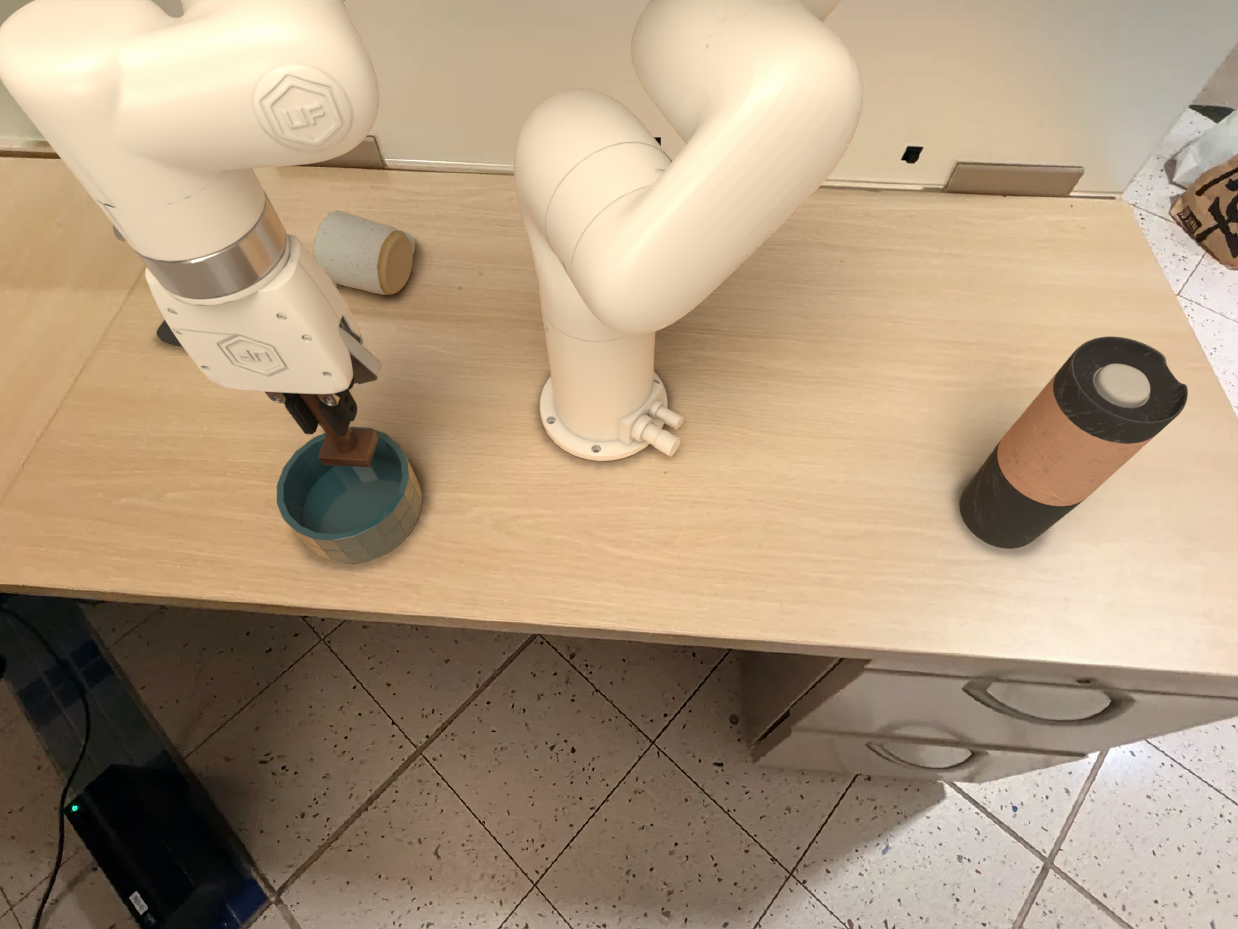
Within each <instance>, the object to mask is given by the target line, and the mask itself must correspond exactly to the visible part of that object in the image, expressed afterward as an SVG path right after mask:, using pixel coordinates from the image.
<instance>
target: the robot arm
mask: <svg viewBox="0 0 1238 929" xmlns="http://www.w3.org/2000/svg"><path fill="white" fill-rule="evenodd" d="M345 1H346V0H180V3H181V8H182V12H183V15H182V16H180V17H173V16H171V15H169V14H168V13H166V12H165V10H163V9H162V8H161V7H160V6H159V5H158V4H157V3H156V2H154V1H153V0H31V1H30V2H28V3H27V4H25V5H23V6H21V7H20V8H18V9H17V10H15V12H13V13H12V14H11V15H10V16H8V17H7V19H5V21H3V23H2V24H1V26H0V80H1V83H2V84H3V86H4V87H5V88H6V90H7V92H8V93H9V94H10V96H11V97H12V98H13V99H14V101H15V102H16V103H17V105H18V106H19V107H20V109H21V110H22V111H23V113H24V114H25V115H26V117H28V119H29V120H30V121H31V122H32V124H33V125H34V126H35V128H36V129H37V130H38V132H39V133H40V134H41V135H42V137H43V138H44V139H45V140H46V142H47V143H48V144H49V145H50V147H51V148H52V149H53V150H54V152H55V153H56V154H57V155H58V157H59V158H60V159H61V161H62V162H63V164H64V165H65V166H66V168H68V169H69V171H70V172H71V173H72V174H73V176H74V178H76V179H77V181H78V182H79V183H80V185H81V186H82V187H83V189H84V190H85V191H86V192H87V194H88V195H89V196H90V197H91V198H92V200H93V201H94V202H95V203H96V204H97V206H98V207H99V208H100V210H101V211H102V212H103V213H104V215H105V216H106V218H108V219H109V221H110V222H111V224H112V229H113V234H114V235H115V237H116V238H117V239H118V240H119V241H120V242H127V244H128V245H129V246H130V248H131V249H132V251H133V252H134V253H135V254H136V256H137V257H138V258H139V259H140V261H141V262H142V263H143V265H144V266H145V267H146V268H145V271H144V277H145V280H146V282H147V283H146V284H147V285H148V288H149V290H150V293H151V295H152V298H153V300H154V302H155V304H156V306H157V309H158V310H159V312H160V313H161V316H162V317H163V319H164V320H165V321H166V322H167V324H168V326H169V327H170V329H171V330H172V332H173V333H174V335H175V336H176V338H177V339H178V341H179V342H180V344H181V345H182V346H181V347H182V348H183V350H184V351H185V352H186V354H187V355H188V357H189V358H190V359H191V360H192V362H193V363H194V364H195V365H196V367H197V368H198V369H199V370H200V371H201V373H202V374H203V375H204V376H205V377H206V378H207V379H208V380H209V381H210V382H211V383H213V384H214V385H216V386H219V387H222V388H224V389H230V390H237V391H249V392H251V391H252V392H264V393H265V395H266V396H267V398H268V399H270V400H271V401H272V402H273V403H276V404H283V405H284V407H285V409H286V410H287V412H288V413H289V414H290V415H291V417H292V418H293V420H294V421H295V422H296V424H297V425H298V427H299V428H300V429H301V430H302V432H303V434H304V435H314V434H315V433H317V430H318V427H319V425H320V424H319V423H318V422H317V420H316V419H315V417H314V416H313V414H312V413H311V411H310V410H309V408H308V407H307V406H306V404H305V403H304V401H303V400H302V398H301V397H300V395H299V394H298V393H304V394H317V395H318V397H319V398H320V403H319V410H320V412H321V413H322V415H323V416H324V418H325V419H326V421H327V422H328V424H329V425H330V427H331V428H332V430H333V431H334V433H335V434H337V435H338V436H346V434H347V431H348V428H349V427H350V425H351V422H354V421H355V420H356V418H357V413H358V404H357V401H356V400H355V398H354V397H353V395H352V392H350V390H352V389H353V387H354V385H355V384H358V385H363V384H366V383H371V382H375V381H377V380H378V379H379V376H380V373H381V370H382V366H383V364H382V362H381V361H380V360H379V359H378V358H377V357H376V356H375V355H374V354H373V353H372V352H370V351H369V350H368V349H367V348H366V346H364V337H363V335H362V332H361V330H360V327H359V325H358V323H357V321H356V319H355V316H354V315H353V313H352V312H351V310H350V308H349V305H348V304H347V303H346V301H345V299H344V298H343V296H342V294H341V292H340V291H339V290H338V288H337V287H336V285H335V283H333V282H332V281H331V279H330V278H329V276H328V275H327V273H326V272H325V271H324V269H323V268H322V267H321V265H320V264H319V263H318V261H317V260H316V259H315V258H314V256H313V253H311V251H310V250H309V249H308V247H307V246H306V245H305V244H304V243H303V242H302V241H301V240H300V239H299V237H297V236H295V235H292V234H288V233H287V230H286V229H285V227H284V225H283V223H282V221H281V219H280V217H279V215H278V213H277V212H276V210H275V208H274V206H273V204H272V202H271V200H270V199H269V197H268V195H267V193H266V191H265V189H264V188H263V186H262V183H261V182H260V180H259V178H258V176H257V175H256V173H255V171H254V169H260V168H261V169H262V168H280V167H295V166H304V165H310V164H316V163H322V162H326V161H330V160H332V159H336V158H338V157H342V155H345V154H347V153H348V152H350V151H352V150H354V149H355V148H356V147H358V146H359V145H360V144H361V143H362V142H363V141H364V140H365V139H366V137H367V136H368V135H369V134H370V132H371V131H372V129H373V127H374V125H375V122H376V120H377V117H378V113H379V108H380V88H379V87H380V86H379V81H378V77H377V76H378V75H377V72H376V70H375V67H374V64H373V61H372V58H371V56H370V54H369V52H368V50H367V47H366V46H365V44H364V42H363V39H362V38H361V36H360V34H359V31H358V30H357V28H356V25H355V24H354V22H353V19H352V18H351V15H350V13H349V11H348V8H347V7H346V5H345ZM841 1H842V0H649V1H648V2H647V3H646V5H645V7H644V8H643V10H642V11H641V12H640V14H639V16H638V18H637V21H636V23H635V26H634V29H633V32H632V36H631V41H630V54H631V55H630V56H631V63H632V66H633V69H634V72H635V74H636V77H637V79H638V81H639V83H640V84H641V87H642V88H643V90H644V92H645V93H646V94H647V96H648V98H649V99H650V100H651V102H652V103H653V105H655V107H656V108H657V110H658V111H659V112H660V113H661V114H662V116H663V117H664V118H665V120H666V121H667V122H668V123H669V125H671V127H672V128H673V129H674V131H675V132H676V133H677V135H678V136H679V137H680V138H681V139H682V141H683V142H684V143H685V144H684V146H683V147H682V148H681V150H680V151H679V153H678V154H677V155H675V158H674V159H673V160H672V159H671V157H670V156H669V154H667V152H666V150H665V149H664V148H663V147H662V146H661V145H660V143H659V142H658V141H657V139H656V138H655V136H654V135H653V134H652V132H651V131H650V130H649V128H647V127H646V125H645V124H644V123H643V122H642V121H641V119H640V118H639V117H638V116H637V115H636V114H635V113H634V112H633V111H632V110H630V109H629V107H628V106H626V105H625V104H624V103H622V102H621V101H620V100H618V99H617V98H614V97H613V96H611V95H609V94H607V93H604V92H602V91H600V90H595V89H591V88H590V89H589V88H572V89H567V90H563V91H561V92H558V93H555V94H554V95H552V96H550V97H548V98H547V99H545V100H544V101H542V102H541V103H539V105H538V106H537V107H536V108H535V109H534V110H533V111H531V113H530V114H529V117H527V119H526V121H525V122H524V124H523V126H522V128H521V130H520V133H519V135H518V138H517V142H516V144H515V150H514V154H513V155H514V156H513V182H514V189H515V193H516V198H517V203H518V208H519V211H520V214H521V219H522V222H523V226H524V230H525V233H526V237H527V241H528V244H529V249H530V253H531V257H532V261H533V266H534V272H535V277H536V282H537V289H538V296H539V301H540V302H539V303H540V310H541V317H542V325H543V330H544V331H543V332H544V337H545V338H544V339H545V344H546V352H547V359H548V364H549V371H550V376H549V377H548V378H547V380H546V382H545V384H544V386H543V387H542V390H541V393H540V397H539V413H540V418H541V422H542V426H543V428H544V429H545V432H546V434H547V435H548V437H549V438H550V439H551V440H552V441H553V442H554V444H555V445H557V446H558V447H560V449H561V450H563V451H565V452H567V453H569V454H570V455H573V456H575V457H578V458H581V459H584V460H589V461H596V462H610V461H617V460H622V459H625V458H627V457H631V456H633V455H636V454H637V453H639V452H641V451H642V450H644V449H646V448H647V447H648V446H649V445H651V446H653V448H655V449H656V450H658V451H660V452H661V453H662V454H665V455H666V456H668V457H670V458H671V457H673V456H674V455H675V453H677V451H678V449H679V447H680V445H681V443H682V442H681V441H682V440H681V438H680V437H678V436H676V435H675V434H673V433H671V432H670V431H668V430H666V429H663V427H664V425H667V426H669V427H671V428H672V429H674V430H675V431H676V430H678V429H680V427H682V424H683V422H684V419H685V418H684V416H683V415H681V414H680V413H677V411H674V410H671V409H669V408H668V404H669V401H668V394H667V391H666V388H665V385H664V383H663V381H662V380H661V378H660V376H659V375H658V374H657V372H655V371H654V368H655V348H656V346H655V345H656V343H655V342H656V332H658V331H660V330H662V329H665V328H666V327H669V326H671V325H673V324H674V323H676V322H678V321H679V320H681V319H682V318H683V317H685V316H686V315H687V314H689V313H690V312H691V311H693V310H694V309H695V308H697V307H699V305H700V304H702V302H704V301H705V300H706V299H707V298H708V297H709V296H710V295H711V294H712V293H713V292H715V290H716V289H717V288H718V287H719V286H721V285H722V284H723V283H724V282H725V280H727V279H728V278H729V277H731V275H732V274H733V273H734V272H735V271H736V270H737V269H738V268H739V267H740V266H741V265H742V264H743V263H744V262H746V261H747V259H749V258H750V257H751V255H753V254H754V253H755V252H756V251H757V250H758V249H759V248H760V247H761V246H762V245H763V244H764V243H765V242H766V241H767V240H768V239H769V238H770V237H771V236H773V234H774V233H775V232H776V231H777V230H778V229H779V228H780V227H781V226H782V225H784V223H786V221H788V220H789V218H790V217H791V216H792V215H794V213H796V212H797V211H798V210H799V209H800V208H801V207H803V205H804V204H805V203H806V202H807V201H808V200H809V199H810V197H812V196H813V195H814V194H815V193H816V191H817V190H818V189H820V187H821V186H822V185H823V184H824V183H825V181H826V180H827V179H828V178H829V177H830V176H831V174H832V173H833V172H834V171H835V169H836V167H837V166H838V165H839V163H840V162H841V160H842V158H843V157H844V155H845V153H846V151H847V150H848V148H849V146H850V144H851V143H852V140H853V138H854V136H855V133H856V131H857V129H858V125H859V122H860V119H861V115H862V111H863V105H864V104H863V103H864V85H863V84H864V83H863V79H862V74H861V70H860V68H859V64H858V62H857V61H856V58H855V57H854V55H853V54H852V53H851V51H850V49H849V48H848V46H847V45H846V44H845V42H843V40H842V39H841V38H840V37H839V36H837V34H836V33H835V32H834V31H833V30H832V29H830V27H828V26H827V25H826V24H825V23H824V22H825V21H826V20H827V18H828V17H829V16H830V14H832V13H833V11H834V10H835V9H836V7H837V6H838V5H839V4H840V3H841Z"/></svg>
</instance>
